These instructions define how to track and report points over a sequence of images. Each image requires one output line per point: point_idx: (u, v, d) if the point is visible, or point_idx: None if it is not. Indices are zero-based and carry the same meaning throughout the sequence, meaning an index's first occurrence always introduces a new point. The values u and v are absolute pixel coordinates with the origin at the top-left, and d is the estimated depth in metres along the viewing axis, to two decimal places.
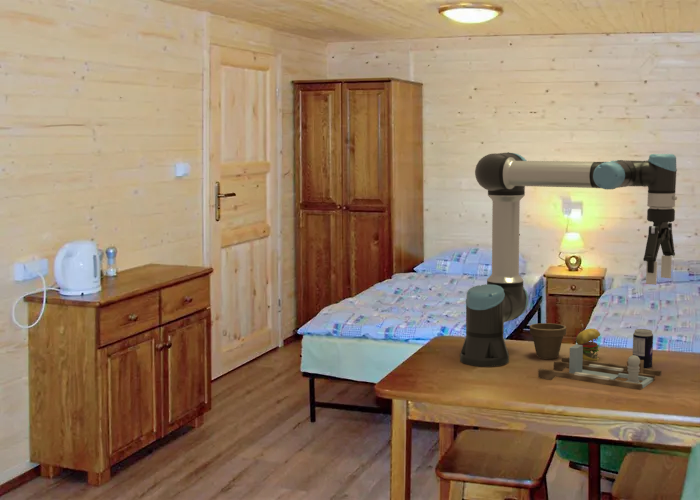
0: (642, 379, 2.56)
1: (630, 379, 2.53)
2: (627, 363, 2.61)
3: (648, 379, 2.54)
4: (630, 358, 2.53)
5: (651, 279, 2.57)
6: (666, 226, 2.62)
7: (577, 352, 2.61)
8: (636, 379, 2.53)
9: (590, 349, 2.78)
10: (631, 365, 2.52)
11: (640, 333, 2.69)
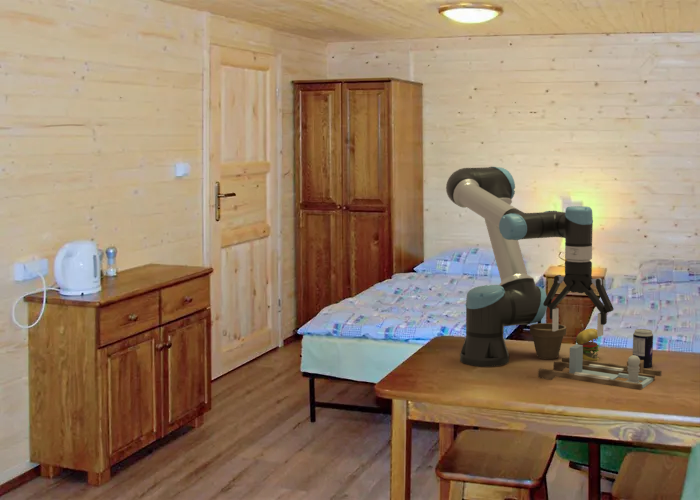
0: (642, 379, 2.56)
1: (630, 379, 2.53)
2: (627, 363, 2.61)
3: (648, 379, 2.54)
4: (630, 358, 2.53)
5: None
6: (583, 280, 2.58)
7: (577, 352, 2.61)
8: (636, 379, 2.53)
9: (590, 349, 2.78)
10: (631, 365, 2.52)
11: (640, 333, 2.69)
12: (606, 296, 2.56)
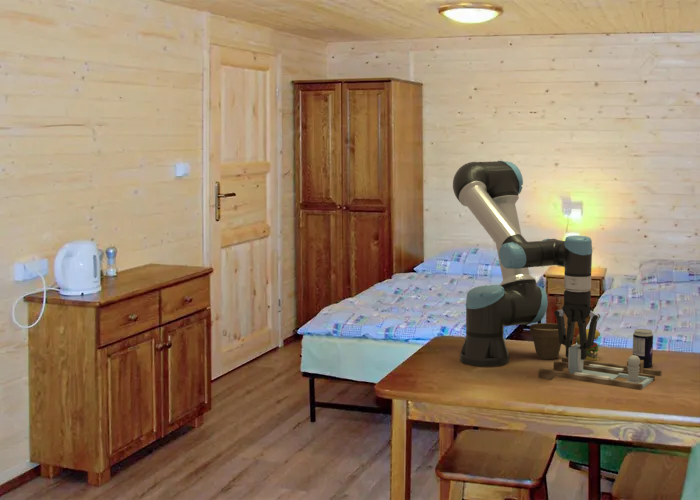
0: (642, 379, 2.56)
1: (630, 379, 2.53)
2: (627, 363, 2.61)
3: (648, 379, 2.54)
4: (630, 358, 2.53)
5: None
6: (583, 308, 2.59)
7: (576, 352, 2.61)
8: (636, 379, 2.53)
9: (590, 349, 2.78)
10: (631, 365, 2.52)
11: (640, 333, 2.69)
12: (593, 333, 2.59)
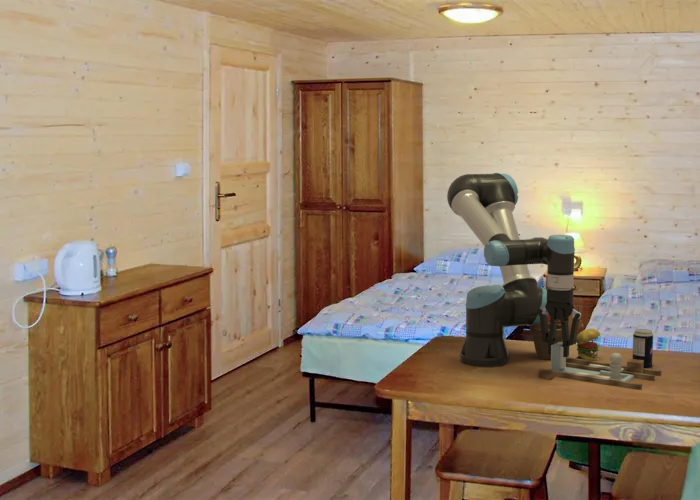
0: (623, 376, 2.59)
1: (612, 376, 2.56)
2: (627, 363, 2.61)
3: (629, 376, 2.57)
4: (612, 356, 2.55)
5: None
6: (565, 306, 2.62)
7: (559, 350, 2.64)
8: (618, 376, 2.56)
9: (590, 349, 2.78)
10: (613, 362, 2.55)
11: (640, 333, 2.69)
12: (576, 330, 2.63)
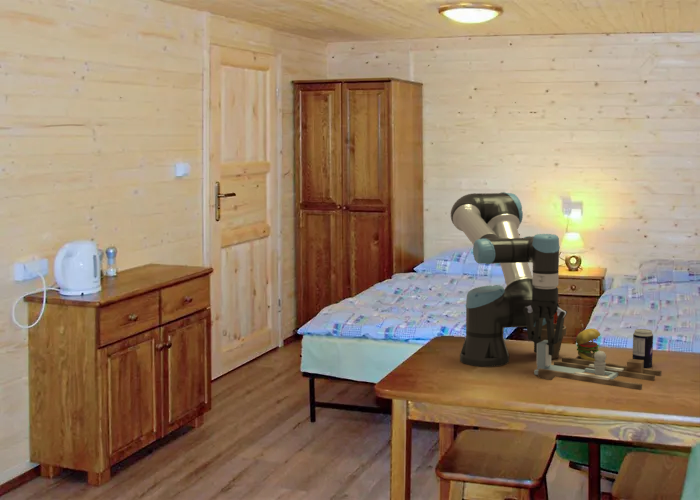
0: (608, 374, 2.62)
1: (597, 374, 2.59)
2: (627, 363, 2.61)
3: (613, 374, 2.59)
4: (597, 354, 2.58)
5: None
6: (550, 304, 2.65)
7: (544, 348, 2.67)
8: (602, 374, 2.58)
9: (590, 349, 2.78)
10: (598, 360, 2.58)
11: (640, 333, 2.69)
12: (561, 329, 2.65)
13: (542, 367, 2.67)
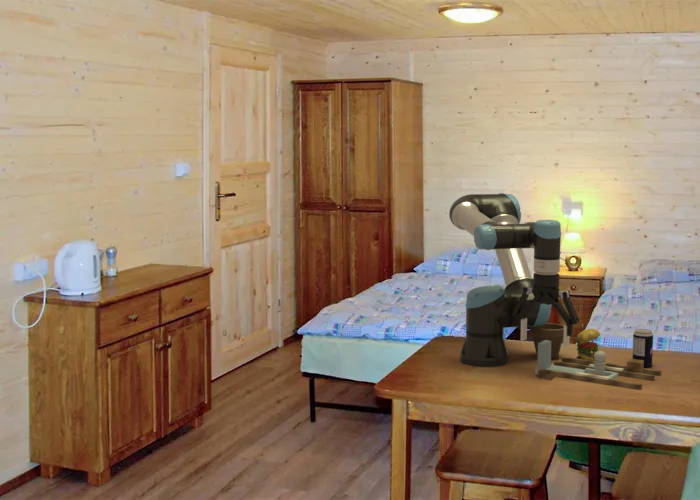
0: (608, 374, 2.62)
1: (597, 374, 2.59)
2: (627, 363, 2.61)
3: (614, 374, 2.59)
4: (596, 354, 2.58)
5: None
6: (550, 292, 2.65)
7: (545, 348, 2.67)
8: (602, 374, 2.58)
9: (590, 349, 2.78)
10: (597, 360, 2.58)
11: (640, 333, 2.69)
12: (572, 308, 2.63)
13: (542, 367, 2.67)
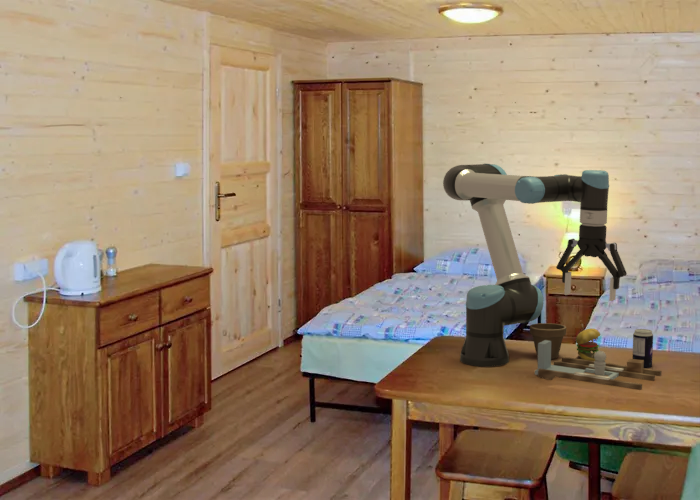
0: (608, 374, 2.62)
1: (597, 374, 2.59)
2: (627, 363, 2.61)
3: (614, 374, 2.59)
4: (596, 354, 2.58)
5: None
6: (597, 244, 2.58)
7: (545, 348, 2.67)
8: (602, 374, 2.58)
9: (590, 349, 2.78)
10: (597, 360, 2.58)
11: (640, 333, 2.69)
12: (620, 261, 2.56)
13: (542, 367, 2.67)
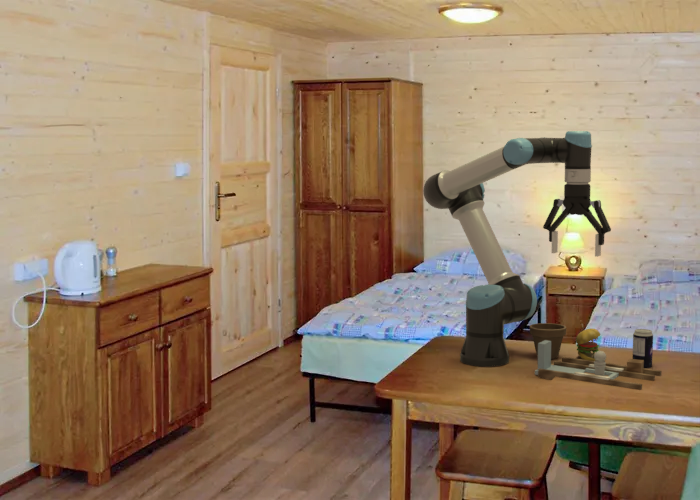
0: (608, 374, 2.62)
1: (597, 374, 2.59)
2: (627, 363, 2.61)
3: (614, 374, 2.59)
4: (596, 354, 2.58)
5: None
6: (581, 202, 2.67)
7: (545, 348, 2.67)
8: (602, 374, 2.58)
9: (590, 349, 2.78)
10: (597, 360, 2.58)
11: (640, 333, 2.69)
12: (604, 217, 2.65)
13: (542, 367, 2.67)
